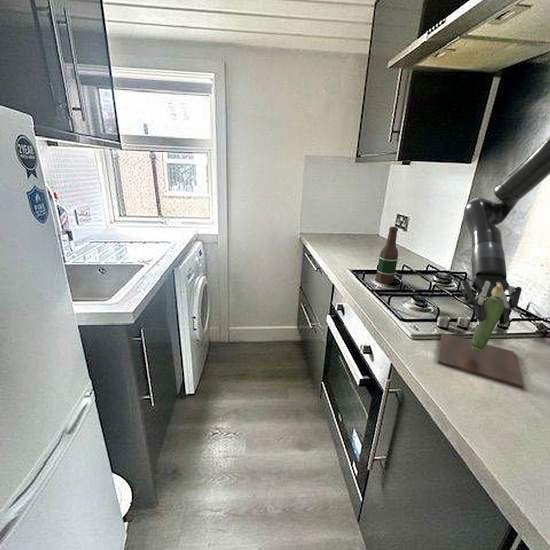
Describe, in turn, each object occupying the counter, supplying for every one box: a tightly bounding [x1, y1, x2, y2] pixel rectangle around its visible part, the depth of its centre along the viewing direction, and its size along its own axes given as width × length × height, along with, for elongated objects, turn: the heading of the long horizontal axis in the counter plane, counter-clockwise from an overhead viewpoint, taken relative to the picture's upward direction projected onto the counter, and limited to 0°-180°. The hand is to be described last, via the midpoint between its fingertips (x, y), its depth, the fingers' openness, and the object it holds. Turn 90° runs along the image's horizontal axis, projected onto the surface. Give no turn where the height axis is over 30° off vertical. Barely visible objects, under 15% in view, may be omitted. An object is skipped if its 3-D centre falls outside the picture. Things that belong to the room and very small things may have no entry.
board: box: [437, 332, 524, 389], centre depth 82 cm, size 18×16×1 cm
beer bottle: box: [375, 226, 399, 285], centre depth 128 cm, size 8×8×24 cm
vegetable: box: [471, 284, 504, 352], centre depth 78 cm, size 4×4×20 cm
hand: (492, 322), depth 76 cm, fingers closed on vegetable, 4 cm apart
